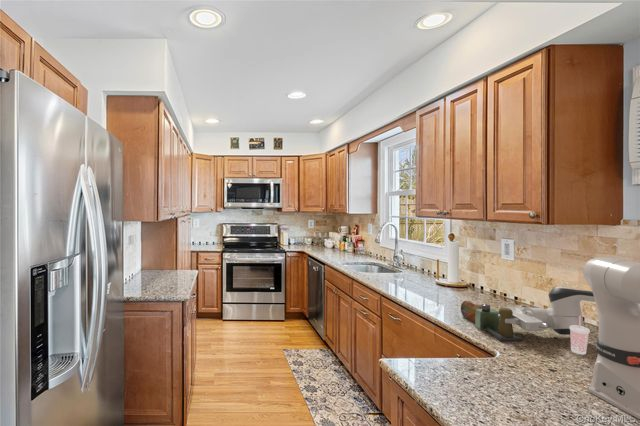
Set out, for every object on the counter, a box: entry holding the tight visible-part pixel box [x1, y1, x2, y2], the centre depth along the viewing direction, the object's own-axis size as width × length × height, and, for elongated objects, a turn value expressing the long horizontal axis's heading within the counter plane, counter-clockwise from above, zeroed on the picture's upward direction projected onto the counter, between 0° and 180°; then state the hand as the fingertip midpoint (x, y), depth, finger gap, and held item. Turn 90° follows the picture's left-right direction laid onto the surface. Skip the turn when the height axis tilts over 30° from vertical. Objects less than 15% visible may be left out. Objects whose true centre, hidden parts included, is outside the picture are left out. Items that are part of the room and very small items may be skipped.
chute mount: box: [474, 303, 523, 343], centre depth 148 cm, size 18×10×10 cm, turn 1°
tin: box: [460, 300, 481, 323], centre depth 165 cm, size 15×3×8 cm, turn 14°
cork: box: [497, 307, 514, 337], centre depth 145 cm, size 6×6×11 cm
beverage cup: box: [569, 315, 591, 356], centre depth 129 cm, size 6×6×14 cm
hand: (501, 318), depth 146 cm, fingers open, 3 cm apart
